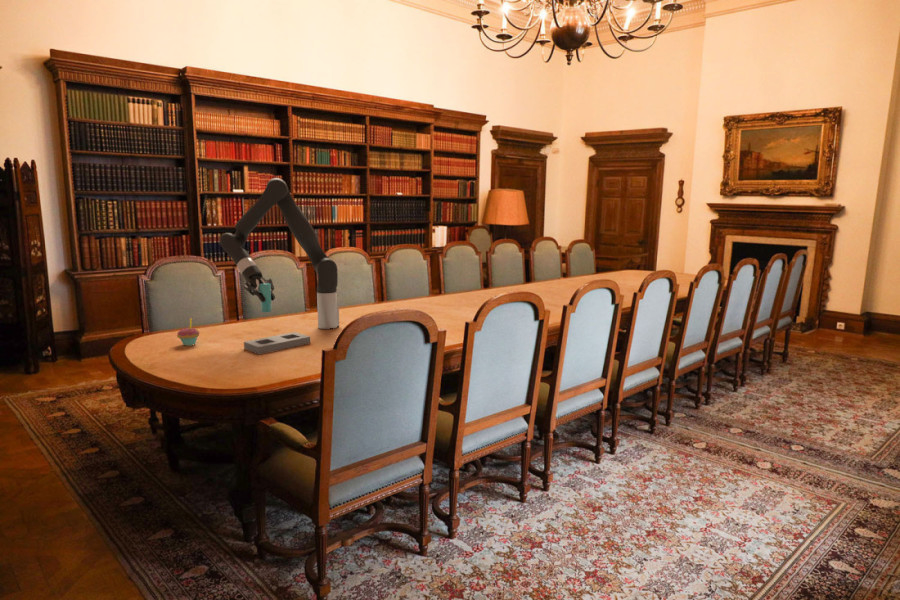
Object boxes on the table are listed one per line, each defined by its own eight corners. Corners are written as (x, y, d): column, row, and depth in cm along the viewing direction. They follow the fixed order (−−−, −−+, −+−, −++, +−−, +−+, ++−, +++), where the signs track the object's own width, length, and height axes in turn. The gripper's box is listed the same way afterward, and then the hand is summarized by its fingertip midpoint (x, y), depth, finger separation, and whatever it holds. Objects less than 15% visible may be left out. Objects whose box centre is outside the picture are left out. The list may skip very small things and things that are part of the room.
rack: (295, 338, 255) (294, 331, 254) (310, 343, 247) (310, 336, 246) (244, 348, 238) (243, 341, 237) (258, 354, 230) (258, 347, 229)
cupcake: (203, 342, 248) (201, 315, 245) (193, 347, 239) (191, 319, 237) (184, 341, 248) (182, 314, 246) (173, 346, 240) (171, 318, 238)
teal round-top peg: (268, 309, 253) (267, 282, 251) (273, 311, 250) (272, 283, 248) (259, 311, 250) (257, 283, 248) (264, 312, 247) (263, 285, 245)
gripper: (238, 266, 245) (259, 297, 240) (266, 263, 256) (285, 292, 252) (231, 277, 249) (251, 308, 244) (259, 273, 260) (278, 303, 256)
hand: (268, 300), depth 248 cm, fingers closed on teal round-top peg, 4 cm apart
